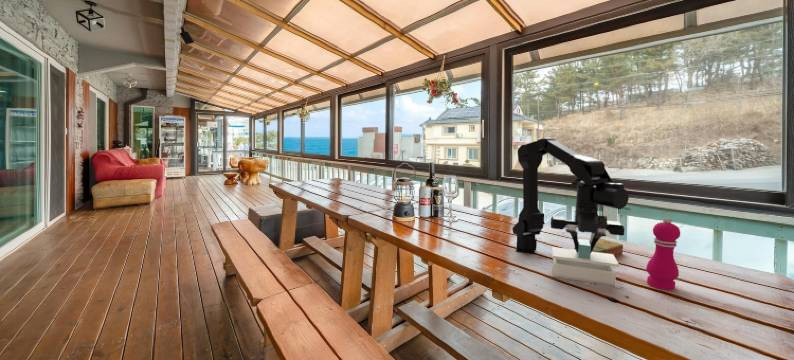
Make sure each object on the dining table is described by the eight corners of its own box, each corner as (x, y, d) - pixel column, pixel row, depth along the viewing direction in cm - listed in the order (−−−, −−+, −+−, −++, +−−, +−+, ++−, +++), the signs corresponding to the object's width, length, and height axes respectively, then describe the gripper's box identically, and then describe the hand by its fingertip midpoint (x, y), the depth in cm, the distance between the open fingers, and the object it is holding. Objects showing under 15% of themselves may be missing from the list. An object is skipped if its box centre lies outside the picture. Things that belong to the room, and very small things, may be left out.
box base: (552, 276, 100) (553, 264, 99) (552, 267, 107) (553, 255, 106) (615, 286, 93) (616, 272, 92) (610, 275, 100) (611, 263, 100)
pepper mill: (679, 293, 89) (687, 221, 86) (646, 287, 92) (653, 218, 90) (674, 283, 95) (682, 216, 92) (643, 278, 98) (649, 213, 96)
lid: (552, 258, 99) (553, 242, 98) (552, 249, 107) (553, 235, 106) (618, 267, 92) (620, 250, 91) (612, 256, 100) (614, 241, 99)
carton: (622, 255, 118) (624, 244, 118) (596, 263, 111) (597, 251, 111) (599, 248, 126) (600, 237, 125) (573, 255, 118) (574, 244, 118)
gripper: (552, 204, 93) (549, 257, 96) (631, 210, 86) (626, 267, 88) (552, 198, 104) (549, 245, 106) (622, 202, 96) (617, 253, 98)
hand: (583, 252), depth 99 cm, fingers closed on lid, 3 cm apart
